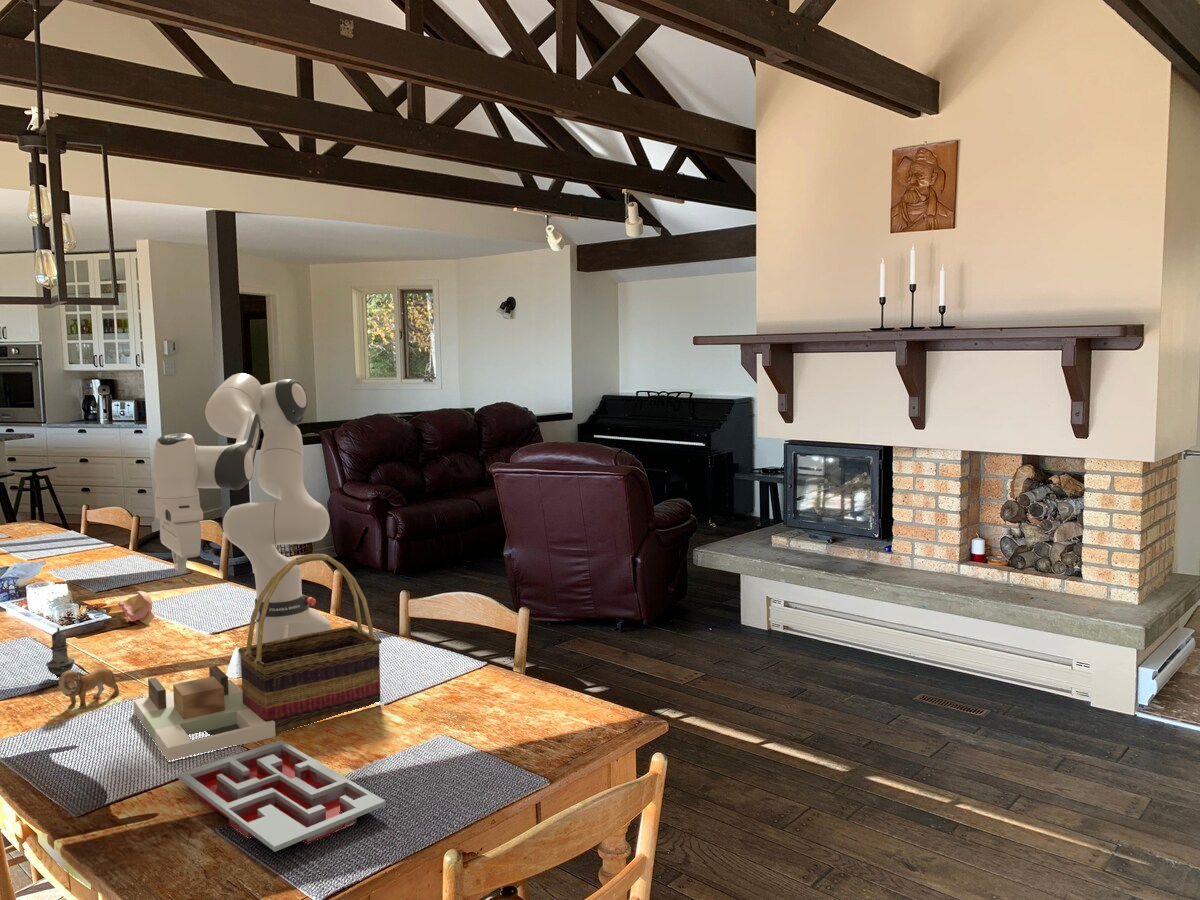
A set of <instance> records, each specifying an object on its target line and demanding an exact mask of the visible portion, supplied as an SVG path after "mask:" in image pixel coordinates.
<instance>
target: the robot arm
mask: <svg viewBox="0 0 1200 900" xmlns="http://www.w3.org/2000/svg"><path fill="white" fill-rule="evenodd" d="M307 408H308V396H307V393H306V391H305V389H304V387H303V385H302V384H301V383H300V382H298V380H295V379H290V378H288V379H287V378H286V379H285V378H284V379H279V380H278V381H274V382H269V383H265V384H261V383H260V381H259V380H258V379H257V378H256V377H254V376H253V375H251V374H248V373H244V372H240V373H236V374H231V376H229V377H228V378H227V379H225V380H224V381H223V382H222V383H221V384H220V385H219V386H218V387H217V388H216V390H215V391H213V394H212V395H211V397H210V398H209V400H208V401H207V403H206V406H205V411H204V415H205V419H206V421H207V424H208V425H209V427H211V429H212V430H213V431H214V432H215V433H218V434H219V435H220V436H223V437H226V438H231V439H236V440H235V443H233V444H230V445H198V444H196V443H195V438H194V437H193V435H191V434H189V433H185V432H183V433H182V432H181V433H180V432H179V433H171V434H170V433H169V434H165V435H162V436H160V437H159V438H156V441H155V445H154V449H153V450H154V451H153V467H152V468H153V478H154V481H155V485H156V486H155V492H154V508H155V509H154V510H155V511H154V512H155V518H156V519H158V520H159V538H160V543H161V544H162V545H163V546H165V547H166V548H167V549H169V550H171V556H172V559H173V567H174V570H175V571H176V572H178V573H182V572H186V571H187V563H188V558H195V557H196V558H197V557H199V556H200V552H201V548H202V547H201V546H202V545H201V544H202V543H201V542H202V524H201V521H203V520H204V511H203V509H202V507H201V501H200V491H199V489H223V490H232V491H238V490H242V489H243V488H244V487H245V486H247V485H248V484H249V483H250V481H251V480H252V478H253V473H254V467H255V466H254V463H255V458H256V457H255V456H256V454H257V450H258V446H259V441H260V436H261V432H263V437H262V442H261V447H260V451H259V452H260V453H259V460H258V461H259V462H258V472H257V473H258V474H257V482H258V483H257V484H258V486H259V488H260V489H261V490H262V491H263V492H264V493H265V494H267V495H268V496H271V497H273V498H275V499H278V500H279V501H278V500H277V501H265V502H264V501H261V502H260V501H257V502H256V501H255V502H246V503H241V504H238V505H237V504H236V505H232V506H231V507H230V508H229V509H228V510H227V511H226V513H225V514H224V516H223V520H222V530H223V533H224V535H225V537H226V539H227V540H228V541H229V542H230V543H231V544H233V545H235V546H236V547H237V548H239V550H241V551H242V552H243V553H244V555H246V557H247V558H248V559H249V561H250V564H251V566H252V569H253V572H254V573H253V574H254V579H255V580H254V581H255V589H256V591H255V592H256V598H255V599H254V606H255V605H256V603H257V600H258V597H259V595H260V594H261V592H262V591H263V590H264V588H265V587H266V585H267V584H268V582H269V581H270V579H271V578H272V577H273V576H274V575H275V574H276V573H277V572H278V571H280V570H281V569H282V568H283V567H284V566H285V565H286V564H288V563H289V562H290V561H292V560H293V558H290V557H288V556H285V555H283V554H281V553H280V552H279V551H278V549H277V548H276V546H280V545H304V544H308V543H314V542H318V541H321V540H322V539H324V537H326V534H327V533H328V531H329V529H330V524H331V523H330V522H331V521H330V514H329V512H328V510H327V508H326V507H325V506H324V505H323V504H322V503H320V502H318V501H317V500H316V499H314V498H313V497H312V496H311V495H310V494H309V492H308V490H307V489H306V486H305V483H304V443H303V436H302V432H301V429H300V428H299V427H298V426H297V425H300V424H301V423H302V421H303V420H304V415H305V413H306V412H307ZM261 430H262V431H261ZM302 586H303V585H302V569H301V567H300V565H294V566H293V567H292V569H291V570H290V571H289V572H288V573H287V574H286V575H285V576H284V577H283V578H282V579H281V580H280V582H279V583H278V585H277V587H276V589H275V591H274V593H273V595H272V597H271V599H270V601H269V604H268V608H267V612H266V616H265V620H264V625H263V638H262V643H266V642H271V641H276V640H281V639H286V638H291V637H295V636H300V635H305V634H310V633H315V632H320V631H325V630H330V629H333V626H332V623H331V621H330V620H329V619H328V618H327V617H325V616H323V615H322V614H321V613H319V612H317V610H314V609H312V608H311V607H312V606H315V604H316V602H317V601H316V599H315V598H314V597H312V596H308V595H305V594H303V593H302V592H303V591H302V590H303V589H302ZM271 587H272V586H271ZM270 589H271V588H270ZM270 589H269V590H268V592H267V593H266V595H265V596H264V598H263V600H262V603H261V605H260V608H259V611H258V613H257V616H256V619H255V624H256V625H255V633H254V635H255V636H254V639H253V645H257V639H258V626H259V620H260V616H261V612H262V608H263V605H264V601H265V598H266V596H267V595H268V593H269V591H270ZM310 606H311V607H310Z"/></svg>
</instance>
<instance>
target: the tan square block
mask: <svg viewBox="0 0 1200 900" xmlns="http://www.w3.org/2000/svg"><path fill="white" fill-rule="evenodd" d="M172 687H173V689H172V690H173V691H172V692H174V708H175V709H176V710H177V712H178V713H179V714H180V716H181V717H182V718H183V720H184V719H189V718H193V717H198V716H202V715H207V714H211V713H216V712H220V711H225V703H224V687H223V686H222V685H221V684H220V683H219V682H218V681H217V679H216V678H215V677H214V676H212V677H209V676H208V677H203V678H198V679H194V680H188V681H182V682H178V683H173V684H172Z"/></svg>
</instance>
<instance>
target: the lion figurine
mask: <svg viewBox="0 0 1200 900" xmlns="http://www.w3.org/2000/svg"><path fill="white" fill-rule="evenodd" d="M104 685H105V686H106V687H108V688H111V689H113V690H114V692H112V696H114V697H117V696H119V694H120V690H119V685H118V684H117V682H116V679H115V675H114V672H113V671H112V670H111V669H109V668H106V667H104V668H103V667H102V668H98V669H95V670H94V671H92V672H90V673H87V674H83V673H81V672H79V671H75V670H72V669H71V670H69V671H65V672H63V673H62V674H61V676H60V677H59V681H58V686H59V688H60V692H61V693H62V694H63V695H64V696H66V697H68V698H69V699H70V702H71V703H70V704H69V705H68V708H70V709H72V708H75V707H76V704H77V699H76V697H77V696H79V700H80V701H79V702H80V703H79V706H78V708H79V709H81V710H82V709H85V708H86V706H87V704H86V703H87V702H86V695H87V692H90V691H91V690H94V689H95V688H96V687H97V688H98V691H97V693H96V694H94V695H93V698H94V699H96V698H99V697H101V694H102V693H103V692H104V690H105V689H104Z"/></svg>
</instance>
